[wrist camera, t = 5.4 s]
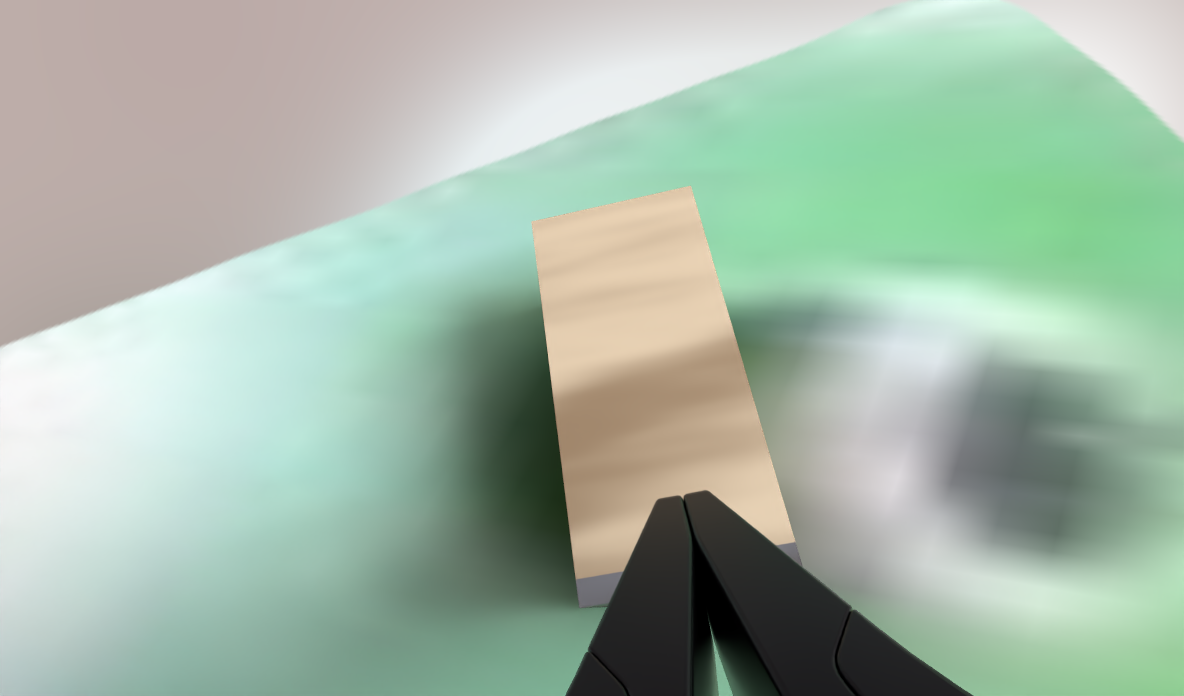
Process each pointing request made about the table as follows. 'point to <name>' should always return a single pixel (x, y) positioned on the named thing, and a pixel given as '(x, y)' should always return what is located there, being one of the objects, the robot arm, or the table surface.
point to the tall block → (645, 380)
